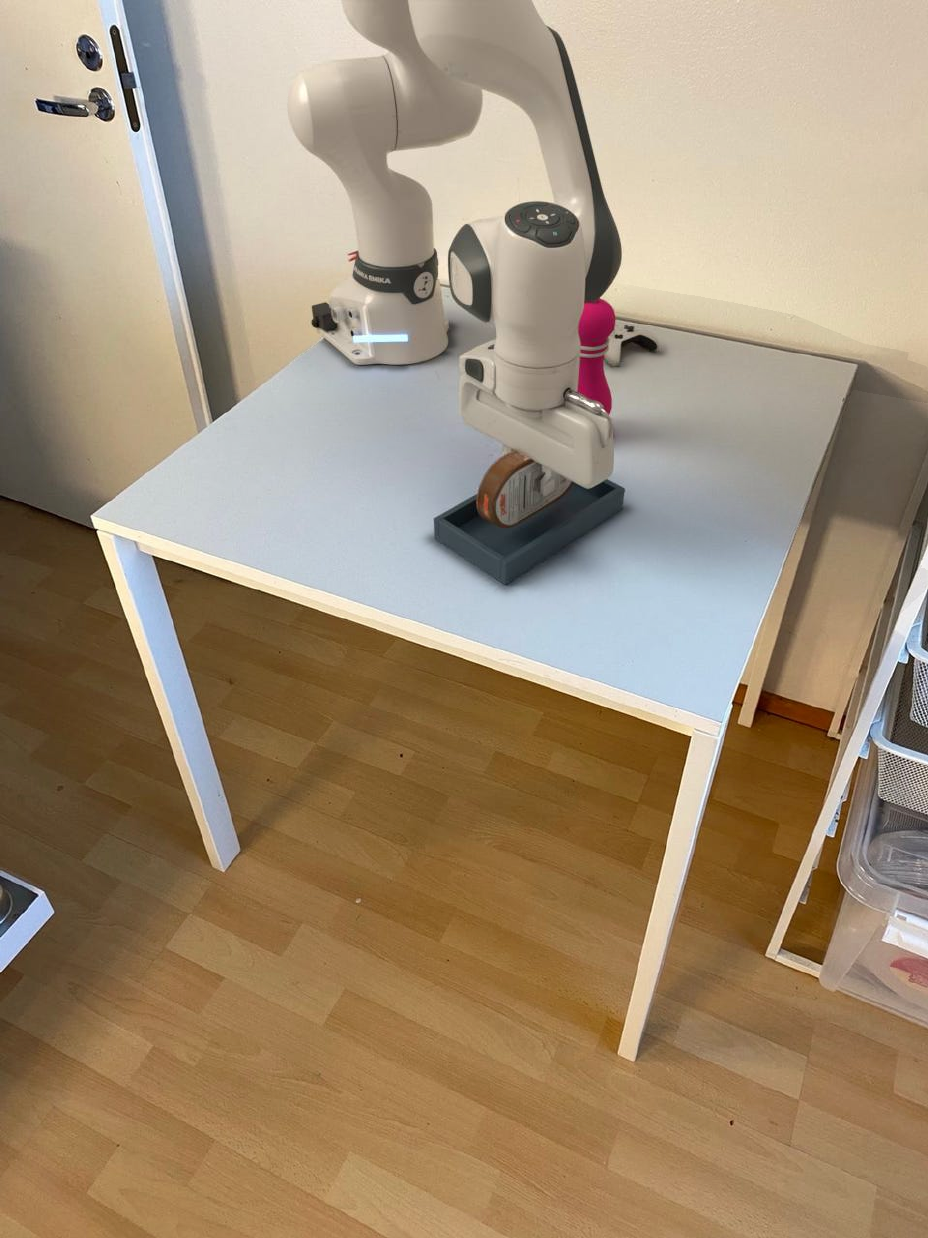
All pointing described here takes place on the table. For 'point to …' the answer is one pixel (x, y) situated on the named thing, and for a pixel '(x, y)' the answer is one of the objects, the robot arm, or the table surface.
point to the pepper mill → (595, 351)
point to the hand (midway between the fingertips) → (531, 484)
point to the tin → (515, 490)
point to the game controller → (625, 336)
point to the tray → (526, 530)
